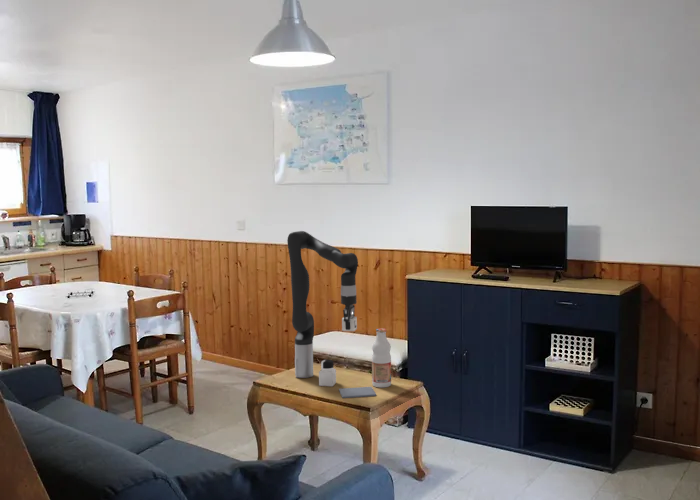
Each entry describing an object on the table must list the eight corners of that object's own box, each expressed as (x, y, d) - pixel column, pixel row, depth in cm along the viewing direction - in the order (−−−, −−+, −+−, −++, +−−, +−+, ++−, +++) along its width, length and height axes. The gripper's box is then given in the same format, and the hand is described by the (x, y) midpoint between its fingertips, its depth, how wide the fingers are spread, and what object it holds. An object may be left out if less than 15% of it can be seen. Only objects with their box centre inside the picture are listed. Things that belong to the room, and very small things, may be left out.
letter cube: (354, 331, 314) (354, 318, 314) (342, 330, 316) (341, 318, 315) (357, 328, 320) (356, 316, 320) (345, 328, 322) (344, 316, 321)
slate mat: (342, 398, 301) (342, 396, 301) (338, 390, 313) (338, 388, 313) (376, 395, 303) (376, 394, 303) (371, 388, 315) (371, 386, 315)
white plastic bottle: (368, 384, 321) (367, 328, 319) (383, 381, 327) (383, 326, 324) (379, 389, 314) (379, 332, 311) (395, 385, 319) (394, 329, 316)
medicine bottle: (336, 382, 326) (335, 358, 324) (333, 386, 319) (332, 362, 317) (322, 381, 327) (322, 358, 326) (318, 385, 320) (318, 362, 319)
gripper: (344, 291, 324) (345, 324, 326) (337, 296, 310) (338, 331, 312) (359, 291, 322) (360, 325, 324) (352, 296, 308) (353, 331, 310)
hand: (349, 327), depth 318 cm, fingers closed on letter cube, 6 cm apart
